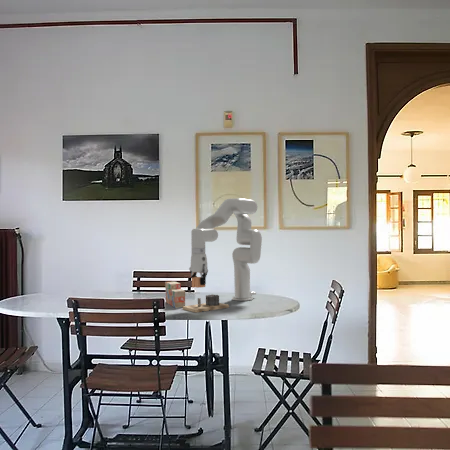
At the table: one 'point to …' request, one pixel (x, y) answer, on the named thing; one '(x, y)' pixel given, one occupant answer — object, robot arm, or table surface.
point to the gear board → (207, 304)
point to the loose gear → (196, 282)
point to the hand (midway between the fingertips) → (198, 283)
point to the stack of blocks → (175, 294)
